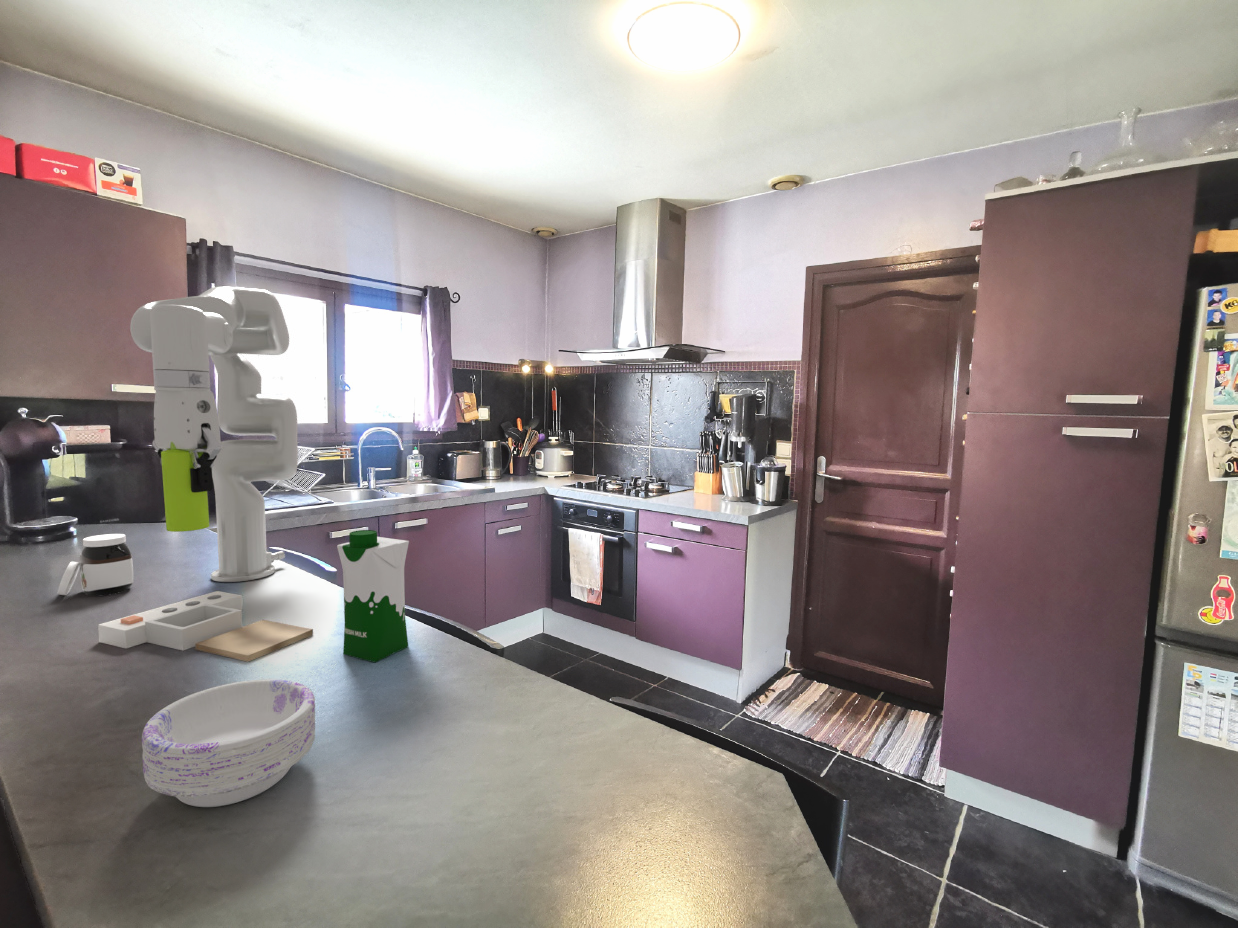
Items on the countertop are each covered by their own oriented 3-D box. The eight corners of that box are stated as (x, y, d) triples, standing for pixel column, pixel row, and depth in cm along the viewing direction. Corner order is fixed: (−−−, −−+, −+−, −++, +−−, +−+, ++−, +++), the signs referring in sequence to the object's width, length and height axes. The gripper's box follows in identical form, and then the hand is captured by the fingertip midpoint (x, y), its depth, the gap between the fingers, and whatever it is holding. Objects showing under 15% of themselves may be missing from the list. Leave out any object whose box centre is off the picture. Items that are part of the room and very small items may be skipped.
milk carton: (334, 655, 94) (330, 532, 93) (378, 636, 103) (376, 522, 101) (374, 666, 91) (371, 538, 89) (417, 645, 99) (415, 527, 97)
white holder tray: (217, 605, 117) (217, 587, 117) (277, 616, 111) (276, 598, 111) (99, 641, 98) (97, 620, 98) (163, 657, 93) (162, 635, 92)
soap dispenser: (222, 523, 104) (215, 409, 102) (190, 532, 97) (181, 409, 95) (191, 522, 104) (183, 409, 102) (157, 531, 97) (148, 409, 95)
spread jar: (139, 590, 126) (136, 536, 125) (70, 604, 117) (65, 546, 116) (117, 581, 132) (114, 530, 131) (49, 594, 123) (45, 539, 122)
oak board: (263, 624, 107) (263, 619, 107) (313, 634, 103) (312, 629, 103) (195, 649, 96) (195, 643, 96) (248, 661, 92) (247, 655, 92)
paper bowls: (347, 749, 69) (345, 683, 68) (234, 841, 54) (230, 759, 53) (238, 731, 72) (235, 669, 71) (105, 814, 57) (99, 736, 57)
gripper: (241, 383, 98) (245, 490, 100) (171, 382, 105) (177, 483, 106) (194, 381, 92) (201, 497, 93) (123, 381, 98) (130, 489, 99)
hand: (188, 488), depth 100 cm, fingers closed on soap dispenser, 5 cm apart
